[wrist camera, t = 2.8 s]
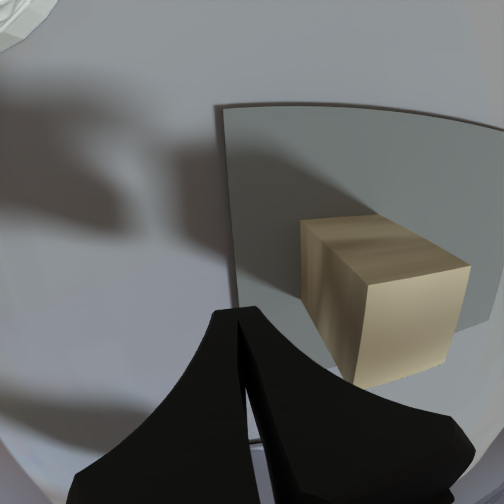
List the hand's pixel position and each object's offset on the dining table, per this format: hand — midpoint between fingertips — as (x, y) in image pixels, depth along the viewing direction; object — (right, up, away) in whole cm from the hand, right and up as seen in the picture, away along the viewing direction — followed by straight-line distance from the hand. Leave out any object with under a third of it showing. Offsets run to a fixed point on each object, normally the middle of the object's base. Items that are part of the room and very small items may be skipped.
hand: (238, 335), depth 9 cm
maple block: (+5, +2, +5) cm, 7 cm away
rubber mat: (+9, +3, +6) cm, 11 cm away
